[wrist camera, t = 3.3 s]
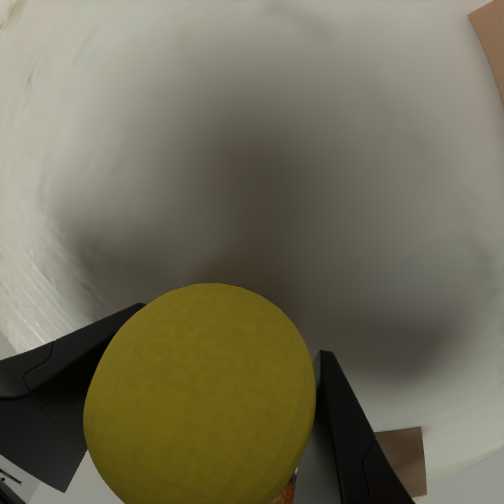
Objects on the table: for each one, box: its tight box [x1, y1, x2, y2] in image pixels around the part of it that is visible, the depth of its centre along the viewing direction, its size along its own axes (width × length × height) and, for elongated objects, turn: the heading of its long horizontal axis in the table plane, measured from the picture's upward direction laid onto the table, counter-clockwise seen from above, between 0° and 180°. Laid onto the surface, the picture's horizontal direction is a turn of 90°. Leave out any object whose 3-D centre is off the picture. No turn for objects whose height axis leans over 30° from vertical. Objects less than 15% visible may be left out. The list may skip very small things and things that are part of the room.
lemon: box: [83, 283, 316, 504], centre depth 6 cm, size 6×6×8 cm
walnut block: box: [374, 426, 427, 502], centre depth 11 cm, size 5×5×5 cm
